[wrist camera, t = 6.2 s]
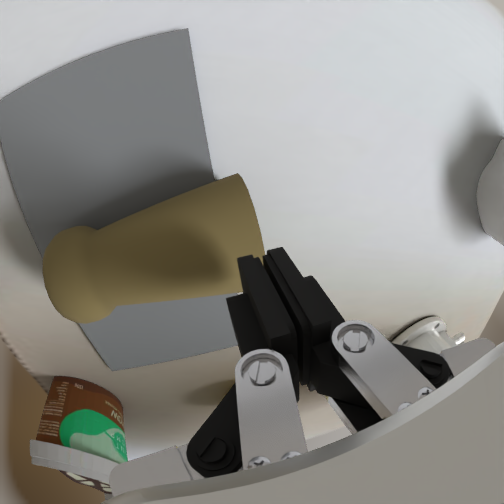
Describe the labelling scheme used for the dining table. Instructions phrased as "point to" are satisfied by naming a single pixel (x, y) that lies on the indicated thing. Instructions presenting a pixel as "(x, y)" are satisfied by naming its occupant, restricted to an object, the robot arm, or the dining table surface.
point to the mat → (117, 175)
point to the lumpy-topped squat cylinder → (492, 196)
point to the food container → (81, 433)
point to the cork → (155, 253)
